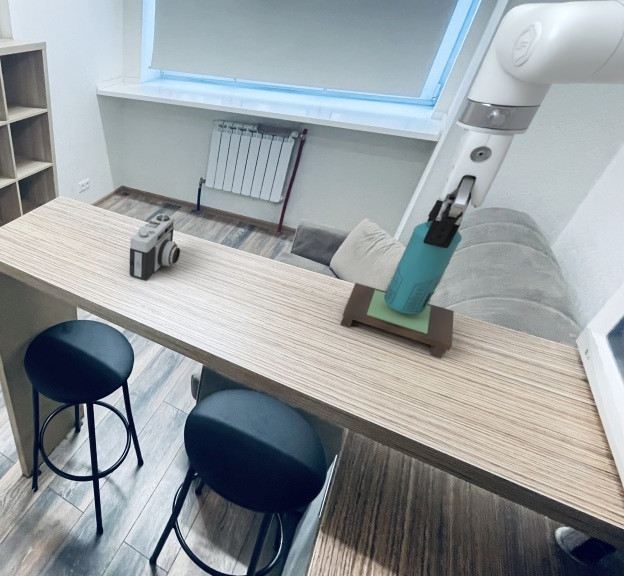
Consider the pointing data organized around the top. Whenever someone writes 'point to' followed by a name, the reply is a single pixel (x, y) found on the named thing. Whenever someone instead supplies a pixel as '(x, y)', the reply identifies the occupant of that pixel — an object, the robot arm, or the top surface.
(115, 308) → the top surface
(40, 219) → the top surface
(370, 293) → the shelf
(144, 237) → the camera
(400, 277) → the beverage bottle
